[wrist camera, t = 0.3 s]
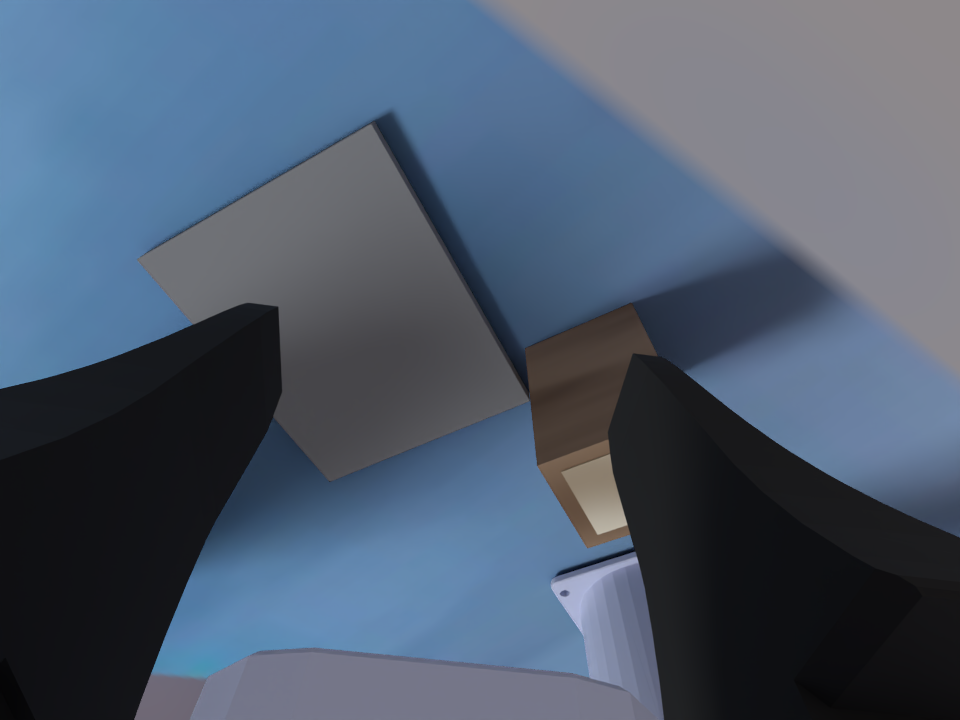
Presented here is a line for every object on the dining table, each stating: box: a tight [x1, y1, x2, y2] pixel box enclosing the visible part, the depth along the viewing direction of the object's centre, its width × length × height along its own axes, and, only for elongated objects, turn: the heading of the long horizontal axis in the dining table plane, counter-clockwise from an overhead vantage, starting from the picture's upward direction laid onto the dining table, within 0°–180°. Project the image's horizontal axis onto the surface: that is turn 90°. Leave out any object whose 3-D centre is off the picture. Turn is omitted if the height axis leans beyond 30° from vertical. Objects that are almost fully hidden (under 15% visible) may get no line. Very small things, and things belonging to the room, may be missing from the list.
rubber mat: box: [137, 121, 530, 482], centre depth 22 cm, size 12×10×1 cm
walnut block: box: [525, 303, 658, 548], centre depth 20 cm, size 4×4×7 cm
